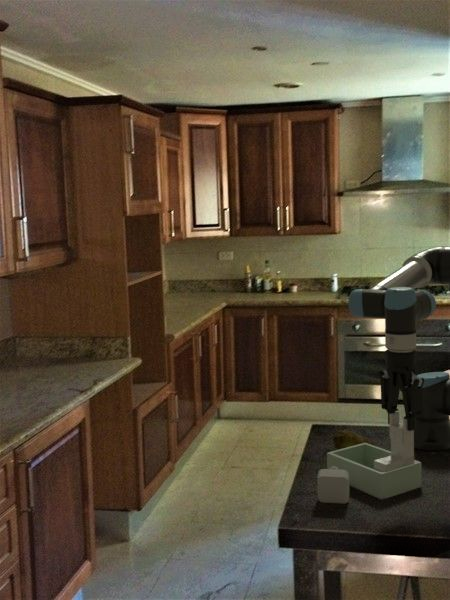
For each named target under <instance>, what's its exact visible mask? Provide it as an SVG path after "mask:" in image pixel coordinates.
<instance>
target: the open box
mask: <svg viewBox="0 0 450 600" xmlns="http://www.w3.org/2000/svg"><path fill="white" fill-rule="evenodd" d="M388 456H391V450H387V449H384V448H382V447H378V446H376V445H374V446H373V445H370V444H368V443H362V444H358V445H355V446H351V447H347V448H343V449H339V450H338V449H335V450H332V451H329V452H326V469H330V468H331V467H333V466H335V467H337V468H338V469H339V470H346V471H347V472H348V473H349V487H351V488H354V489H355V490H358V491H360V492H363V493H365V494H367V495H370V496H372V497H375V498H377V499H379V500H386V499H389V498H392V497H394V496H398V495H400V494H404V493H407V492H410V491H414V490H417V489H419V488H421V487H422V462H421V461H419V460H416V459H414V464H412V465H409V466H406V467H402V468H399V469H396V470H392V471H389V472H386V473H385V472H383V471H380V470H377V469H375V468H374V460H377V459H381V458H384V457H388Z"/></svg>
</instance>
